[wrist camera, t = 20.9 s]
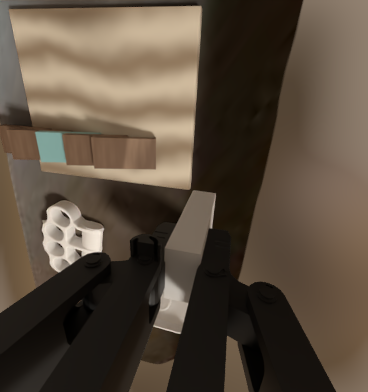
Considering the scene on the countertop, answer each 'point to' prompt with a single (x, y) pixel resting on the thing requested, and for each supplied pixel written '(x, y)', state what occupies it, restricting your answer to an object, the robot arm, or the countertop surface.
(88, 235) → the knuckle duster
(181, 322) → the milk carton
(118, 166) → the domino
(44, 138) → the domino
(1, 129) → the domino
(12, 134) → the domino
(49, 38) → the birch board
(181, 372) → the robot arm
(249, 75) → the countertop surface
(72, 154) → the domino
